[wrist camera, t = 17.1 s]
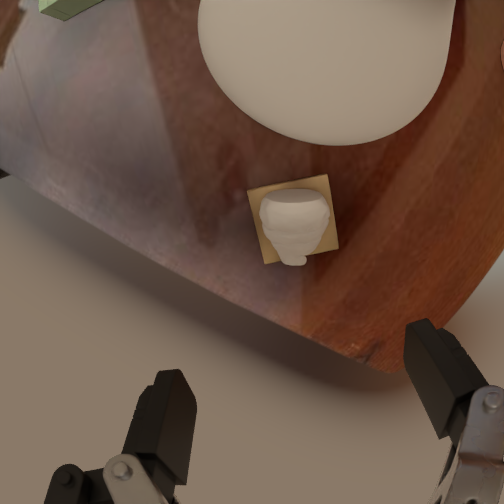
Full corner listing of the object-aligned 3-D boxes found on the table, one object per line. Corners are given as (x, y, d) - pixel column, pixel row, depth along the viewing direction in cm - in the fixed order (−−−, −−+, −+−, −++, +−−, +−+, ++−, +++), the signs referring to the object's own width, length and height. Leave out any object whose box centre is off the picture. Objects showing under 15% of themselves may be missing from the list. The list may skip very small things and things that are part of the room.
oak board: (264, 261, 30) (264, 264, 29) (246, 189, 27) (246, 191, 26) (337, 246, 29) (339, 248, 28) (326, 173, 26) (327, 174, 26)
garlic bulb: (262, 254, 29) (263, 284, 24) (257, 189, 26) (258, 207, 21) (322, 251, 29) (335, 279, 24) (322, 186, 26) (337, 202, 21)
